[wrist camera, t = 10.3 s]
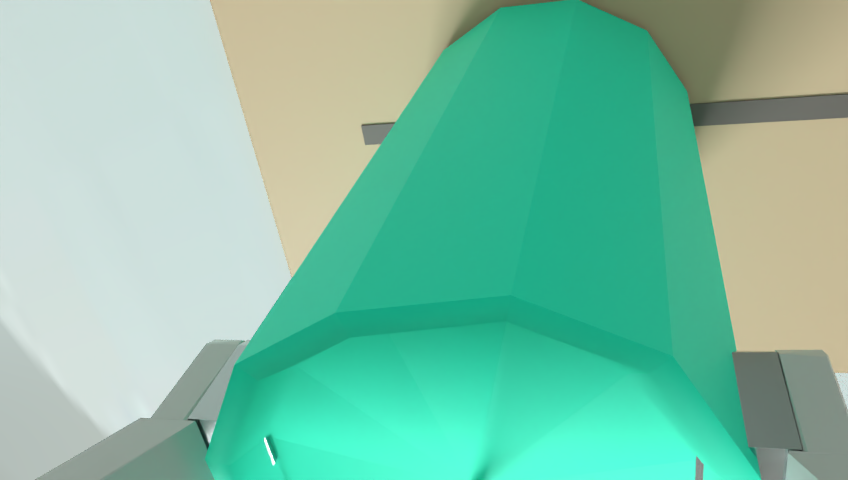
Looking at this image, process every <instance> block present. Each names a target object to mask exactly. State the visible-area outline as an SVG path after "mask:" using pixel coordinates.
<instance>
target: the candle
mask: <svg viewBox="0 0 848 480" xmlns="http://www.w3.org/2000/svg"><path fill="white" fill-rule="evenodd" d="M733 351H737V349H736V344H735V339H734V334H733V328H732V323H731V318H730V313H729V307H728V302H727V297H726V292H725V286H724V281H723V276H722V271H721V266H720V260H719V255H718V250H717V245H716V239H715V234H714V229H713V224H712V218H711V213H710V208H709V203H708V197H707V192H706V187H705V182H704V177H703V171H702V166H701V161H700V156H699V150H698V145H697V140H696V135H695V129H694V124H693V119H692V114H691V109H690V103H689V98H688V93H687V90H686V89H685V87H684V86H683V84H682V83H681V81H680V80H679V78H678V77H677V75H676V74H675V72H674V70H673V69H672V67H671V66H670V64H669V63H668V61H667V60H666V58H665V57H664V55H663V54H662V52H661V51H660V49H659V48H658V46H657V45H656V43H655V42H654V40H653V39H652V37H651V36H650V34H649V33H648V31H647V30H645V29H642V28H640V27H638V26H636V25H634V24H631V23H629V22H627V21H625V20H622V19H620V18H618V17H616V16H614V15H611V14H609V13H607V12H605V11H602V10H600V9H598V8H596V7H593V6H591V5H589V4H587V3H585V2H582V1H580V0H564V1H555V2H546V3H537V4H528V5H519V6H510V7H501V8H499V9H498V10H497V11H495V12H494V13H493V14H491V15H490V16H489V17H487V18H486V19H485V20H483V21H482V22H481V23H479V24H478V25H477V26H475V27H474V28H473V29H471V30H470V31H469V32H467V33H466V34H465V35H463V36H462V37H461V38H459V39H458V40H457V41H455V42H454V43H453V44H451V45H450V46H449V47H447V48H446V49H445V50H443V52H442V53H441V55H440V56H439V58H438V59H437V61H436V62H435V64H434V65H433V67H432V68H431V70H430V71H429V73H428V74H427V76H426V77H425V79H424V80H423V82H422V83H421V85H420V86H419V88H418V89H417V91H416V92H415V94H414V95H413V97H412V98H411V100H410V101H409V103H408V104H407V106H406V107H405V109H404V110H403V112H402V113H401V115H400V116H399V118H398V119H397V121H396V122H395V124H394V125H393V127H392V128H391V130H390V131H389V133H388V134H387V136H386V137H385V139H384V140H383V142H382V143H381V145H380V146H379V148H378V149H377V151H376V152H375V154H374V155H373V157H372V158H371V160H370V161H369V163H368V164H367V166H366V167H365V169H364V170H363V172H362V173H361V175H360V176H359V178H358V179H357V181H356V182H355V184H354V186H353V187H352V189H351V190H350V192H349V193H348V195H347V196H346V198H345V199H344V201H343V202H342V204H341V205H340V207H339V208H338V210H337V211H336V213H335V214H334V216H333V217H332V219H331V220H330V222H329V223H328V225H327V226H326V228H325V229H324V231H323V232H322V234H321V235H320V237H319V238H318V240H317V241H316V243H315V244H314V246H313V247H312V249H311V250H310V252H309V253H308V255H307V256H306V258H305V259H304V261H303V262H302V264H301V265H300V267H299V268H298V270H297V271H296V273H295V274H294V276H293V277H292V279H291V280H290V282H289V283H288V285H287V286H286V288H285V289H284V291H283V292H282V294H281V295H280V297H279V298H278V300H277V301H276V303H275V304H274V306H273V307H272V309H271V310H270V312H269V313H268V315H267V316H266V318H265V319H264V321H263V322H262V324H261V325H260V327H259V328H258V330H257V331H256V333H255V334H254V336H253V337H252V339H251V340H250V342H249V343H248V345H247V346H246V348H245V349H244V351H243V352H242V354H241V355H240V357H239V358H238V360H237V361H236V363H235V364H234V367H233V370H232V373H231V377H230V380H229V383H228V386H227V389H226V393H225V396H224V399H223V402H222V405H221V409H220V412H219V415H218V418H217V421H216V425H215V428H214V431H213V434H212V437H211V441H210V444H209V447H208V450H207V453H206V457H205V461H206V463H207V465H208V467H209V469H210V471H211V473H212V475H213V477H214V479H215V480H695V457H696V456H697V457H698V458H699V459H700V461H701V462H702V463H703V464H704V469H703V480H761V475H760V470H759V464H758V459H757V458H756V456H755V455H754V454H753V452H752V451H751V450H750V448H749V447H748V442H747V436H746V431H745V425H744V420H743V414H742V409H741V403H740V397H739V392H738V386H737V380H736V374H735V369H734V363H733V357H732V352H733ZM265 437H270V440H271V443H272V445H273V448H274V451H275V453H276V456H277V459H276V461H275V463H274V465H273V464H272V462H271V459H270V456H269V453H268V451H267V448H266V445H265V442H264V439H265Z"/></svg>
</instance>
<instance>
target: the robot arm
mask: <svg viewBox="0 0 848 480" xmlns="http://www.w3.org/2000/svg"><path fill="white" fill-rule="evenodd" d="M249 342H250V340H247V341H241V340H214V341H212V342H209V343H207V344H206V345H205V346H204V348H203V349H202V350H201V352H200V353H199V354H198V356H197V357H196V358H195V360H194V361H193V362H192V364H191V365H190V366H189V368H188V369H187V370H186V372H185V373H184V374H183V376H182V377H181V378H180V380H179V381H178V382H177V384H176V385H175V386H174V388H173V389H172V390H171V392H170V393H169V394H168V396H167V397H166V398H165V400H164V401H163V402H162V404H161V405H160V406H159V408H158V409H157V410H156V412H155V413H154V414H153V416H152V417H151V418H140V419H138V420H136V421H135V422H133V423H131V424H129V425H128V426H126V427H124V428H123V429H121V430H119V431H117V432H116V433H114V434H112V435H111V436H109V437H107V438H106V439H104V440H102V441H101V442H99V443H97V444H95V445H94V446H92V447H90V448H88V449H87V450H85V451H84V452H82V453H80V454H78V455H76V456H75V457H73V458H71V459H70V460H68V461H66V462H64V463H63V464H61V465H59V466H58V467H56V468H54V469H53V470H51V471H49V472H47V473H46V474H44V475H43V476H40V477H39V478H37V479H35V480H215V479H214V477H213V475H212V473H211V471H210V469H209V467H208V465H207V463H206V461H205V457H206V453H207V450H208V447H209V444H210V441H211V437H212V434H213V431H214V428H215V425H216V421H217V418H218V415H219V412H220V409H221V405H222V402H223V399H224V396H225V393H226V389H227V386H228V383H229V380H230V377H231V373H232V370H233V367H234V364H235V363H236V361H237V360H238V358H239V357H240V355H241V354H242V352H243V351H244V349H245V348H246V346H247V345H248V343H249ZM732 357H733V363H734V369H735V374H736V380H737V386H738V392H739V397H740V403H741V409H742V414H743V420H744V425H745V431H746V436H747V442H748V447H749V448H750V450H751V451H752V452H753V454H754V455H755V456H756V458H757V459H758V464H759V470H760V475H761V480H848V409H847V407H846V404H845V401H844V398H843V395H842V393H841V390H840V387H839V384H838V381H837V379H836V376H835V373H834V370H833V367H832V364H831V362H830V359H829V356H828V354H826V353H825V352H824V351H823V350H775V352H774V351H733V352H732ZM264 442H265V445H266V448H267V451H268V453H269V456H270V459H271V462H272V464H273V465H274V463H275V461H276V459H277V456H276V453H275V451H274V448H273V445H272V443H271V440H270V437H265V439H264ZM703 469H704V464H703V463H702V462H701V461H700V459H699V458H698V457H697V456H696V457H695V480H703Z"/></svg>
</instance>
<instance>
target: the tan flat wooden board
mask: <svg viewBox="0 0 848 480" xmlns="http://www.w3.org/2000/svg"><path fill="white" fill-rule="evenodd" d="M555 1H564V0H210V2H211V5H212V9H213V12H214V15H215V19H216V22H217V26H218V29H219V32H220V36H221V39H222V43H223V46H224V49H225V53H226V56H227V60H228V63H229V66H230V70H231V73H232V77H233V80H234V83H235V87H236V90H237V94H238V97H239V100H240V104H241V107H242V111H243V114H244V117H245V121H246V124H247V127H248V131H249V134H250V138H251V141H252V144H253V148H254V151H255V155H256V158H257V161H258V165H259V168H260V172H261V175H262V178H263V182H264V185H265V189H266V192H267V195H268V199H269V202H270V206H271V209H272V212H273V216H274V219H275V223H276V226H277V229H278V233H279V236H280V240H281V243H282V246H283V250H284V253H285V257H286V260H287V263H288V267H289V270H290V273H291V277H293V276H294V274H295V273H296V271H297V270H298V268H299V267H300V265H301V264H302V262H303V261H304V259H305V258H306V256H307V255H308V253H309V252H310V250H311V249H312V247H313V246H314V244H315V243H316V241H317V240H318V238H319V237H320V235H321V234H322V232H323V231H324V229H325V228H326V226H327V225H328V223H329V222H330V220H331V219H332V217H333V216H334V214H335V213H336V211H337V210H338V208H339V207H340V205H341V204H342V202H343V201H344V199H345V198H346V196H347V195H348V193H349V192H350V190H351V189H352V187H353V186H354V184H355V182H356V181H357V179H358V178H359V176H360V175H361V173H362V172H363V170H364V169H365V167H366V166H367V164H368V163H369V161H370V160H371V158H372V157H373V155H374V154H375V152H376V151H377V149H378V148H379V146H380V145H381V143H382V142H383V140H384V139H385V137H386V136H387V134H388V133H389V131H390V130H391V128H392V127H393V125H394V124H395V122H396V121H397V119H398V118H399V116H400V115H401V113H402V112H403V110H404V109H405V107H406V106H407V104H408V103H409V101H410V100H411V98H412V97H413V95H414V94H415V92H416V91H417V89H418V88H419V86H420V85H421V83H422V82H423V80H424V79H425V77H426V76H427V74H428V73H429V71H430V70H431V68H432V67H433V65H434V64H435V62H436V61H437V59H438V58H439V56H440V55H441V53H442V52H443V50H445V49H446V48H447V47H449V46H450V45H451V44H453V43H454V42H455V41H457V40H458V39H459V38H461V37H462V36H463V35H465V34H466V33H467V32H469V31H470V30H471V29H473V28H474V27H475V26H477V25H478V24H479V23H481V22H482V21H483V20H485V19H486V18H487V17H489V16H490V15H491V14H493V13H494V12H495V11H497V10H498V9H499V8H501V7H510V6H519V5H528V4H537V3H546V2H555ZM580 1H582V2H585V3H587V4H589V5H591V6H593V7H596V8H598V9H600V10H602V11H605V12H607V13H609V14H611V15H614V16H616V17H618V18H620V19H622V20H625V21H627V22H629V23H631V24H634V25H636V26H638V27H640V28H642V29H645V30H647V31H648V33H649V34H650V36H651V37H652V39H653V40H654V42H655V43H656V45H657V46H658V48H659V49H660V51H661V52H662V54H663V55H664V57H665V58H666V60H667V61H668V63H669V64H670V66H671V67H672V69H673V70H674V72H675V74H676V75H677V77H678V78H679V80H680V81H681V83H682V84H683V86H684V87H685V89H686V90H687V93H688V98H689V103H690V109H691V114H692V119H693V124H694V129H695V135H696V140H697V145H698V150H699V156H700V161H701V166H702V171H703V177H704V182H705V187H706V192H707V197H708V203H709V208H710V213H711V218H712V224H713V229H714V234H715V239H716V245H717V250H718V255H719V260H720V266H721V271H722V276H723V281H724V286H725V292H726V297H727V302H728V307H729V313H730V318H731V323H732V328H733V334H734V339H735V344H736V349H737V351H774V352H775V350H823V351H824V352H825V353H826V354H828V356H829V359H830V362H831V364H832V367H833V370H834V373H848V0H580Z"/></svg>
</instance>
